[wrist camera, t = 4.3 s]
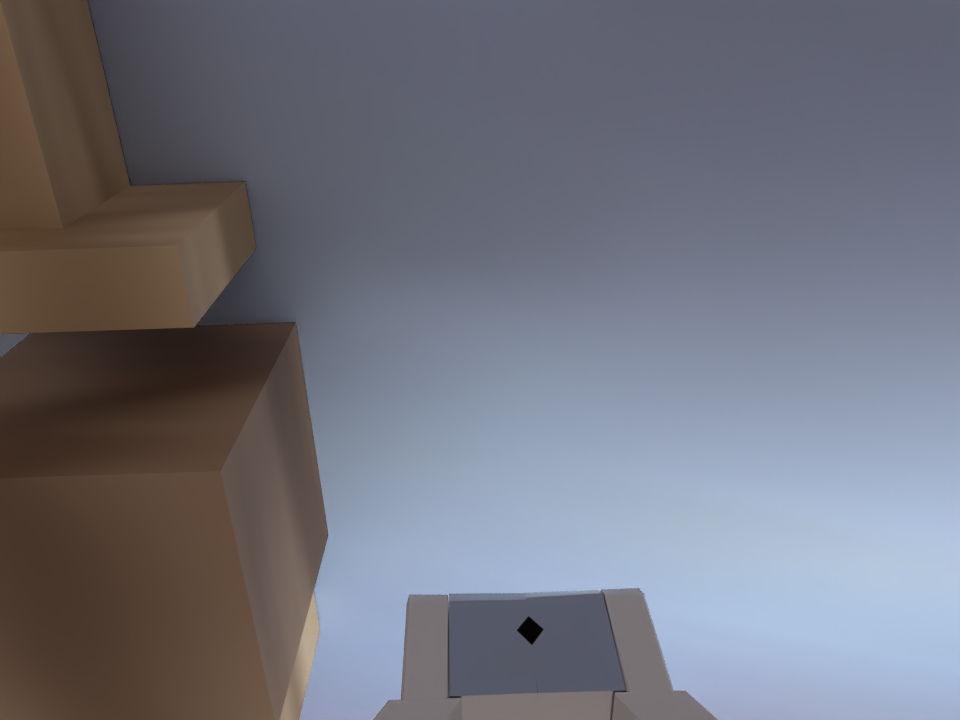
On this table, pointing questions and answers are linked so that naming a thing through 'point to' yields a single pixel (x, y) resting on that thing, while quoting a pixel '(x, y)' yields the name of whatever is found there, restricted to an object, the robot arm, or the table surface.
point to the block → (155, 523)
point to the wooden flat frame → (102, 213)
